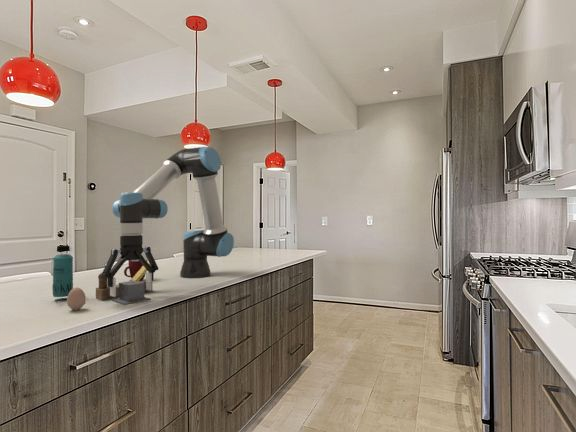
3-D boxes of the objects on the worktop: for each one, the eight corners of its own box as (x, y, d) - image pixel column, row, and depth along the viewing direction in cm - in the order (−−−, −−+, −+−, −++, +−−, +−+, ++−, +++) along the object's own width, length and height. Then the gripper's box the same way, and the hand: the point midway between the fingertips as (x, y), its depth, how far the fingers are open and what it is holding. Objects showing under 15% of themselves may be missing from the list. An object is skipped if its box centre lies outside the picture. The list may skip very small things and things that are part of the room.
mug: (131, 284, 162) (131, 262, 162) (120, 282, 166) (119, 261, 166) (150, 280, 171) (150, 259, 171) (139, 279, 175) (139, 258, 175)
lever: (131, 282, 144) (148, 262, 150) (136, 284, 141) (154, 263, 147) (129, 281, 143) (146, 260, 149) (134, 282, 141) (152, 261, 146)
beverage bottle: (54, 298, 134) (54, 245, 134) (74, 296, 137) (74, 244, 137) (50, 302, 128) (50, 246, 128) (72, 300, 131) (71, 245, 131)
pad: (138, 296, 138) (138, 295, 138) (150, 299, 132) (150, 298, 132) (111, 301, 130) (111, 299, 130) (124, 304, 124) (124, 303, 124)
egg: (86, 310, 117) (86, 287, 117) (66, 312, 114) (66, 289, 114) (85, 307, 122) (85, 285, 122) (66, 309, 119) (66, 287, 119)
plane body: (145, 289, 149) (145, 266, 149) (152, 291, 146) (152, 267, 146) (95, 298, 134) (95, 272, 134) (101, 300, 130) (101, 273, 130)
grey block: (144, 299, 131) (144, 282, 131) (128, 302, 126) (128, 285, 126) (134, 296, 136) (134, 280, 136) (118, 299, 131) (118, 282, 131)
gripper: (156, 233, 143) (157, 286, 143) (91, 235, 124) (91, 297, 124) (167, 233, 138) (167, 288, 138) (100, 236, 119) (100, 300, 119)
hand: (131, 292), depth 131 cm, fingers open, 13 cm apart
